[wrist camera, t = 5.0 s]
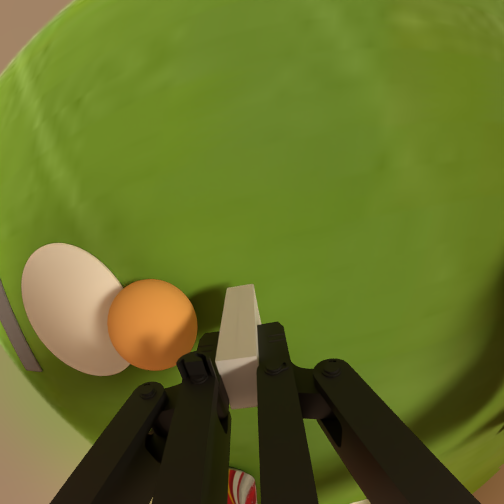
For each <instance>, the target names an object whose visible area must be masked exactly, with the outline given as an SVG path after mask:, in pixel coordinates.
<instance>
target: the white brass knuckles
mask: <svg viewBox="0 0 504 504" xmlns="http://www.w3.org/2000/svg"><path fill="white" fill-rule="evenodd" d="M350 504H371V503H370V502H369V500H368V499H365V500H362V501H359V502H354V503H350Z"/></svg>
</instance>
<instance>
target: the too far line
mask: <svg viewBox="0 0 504 504" xmlns="http://www.w3.org/2000/svg"><path fill="white" fill-rule="evenodd" d="M0 320H1V322H2V325H3V327H4V329H5V331H6V333H7V335H8V337H9V339H10V341H11V343H12V345H13V347H14V349H15V351H16V353H17V355H18V356H19V358H20V360H21V362H22V364H23V365H24V367H25V369H26V370H29V371H38V372H42V371H43V370H42V369H41V367H40V365H39V364H38V362H37V360H36V358H35V356H34V355H33V353H32V351H31V349H30V347H29V345H28V343H27V341H26V339H25V337H24V335H23V333H22V331H21V329H20V327H19V325H18V322H17V320H16V318H15V316H14V313H13V311H12V309H11V306H10V304H9V301H8V299H7V296H6V294H5V291H4V288H3V285H2V283H1V280H0Z"/></svg>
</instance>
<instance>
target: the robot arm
mask: <svg viewBox="0 0 504 504" xmlns="http://www.w3.org/2000/svg"><path fill="white" fill-rule="evenodd" d="M176 365H177V367H178V369H179V372H180V374H181V376H182V379H183V380H182V383H181V384H178V385H176V386H172V387H169V388H165V389H164V387H163V386H162V385H161V384H160V383H158V382H147V383H144V384H142V385H140V386H138V387H137V388H136V389H135V390H134V392H133V393H132V394H131V396H130V397H129V398H128V400H127V401H126V402H125V404H124V405H123V406H122V408H121V409H120V410H119V411H118V413H117V414H116V415H115V417H114V418H113V419H112V421H111V422H110V423H109V425H108V426H107V427H106V429H105V430H104V431H103V433H102V434H101V435H100V437H99V438H98V439H97V441H96V442H95V443H94V445H93V446H92V447H91V449H90V450H89V451H88V453H87V454H86V455H85V457H84V458H83V459H82V461H81V462H80V463H79V465H78V466H77V467H76V469H75V470H74V471H73V473H72V474H71V475H70V477H69V478H68V479H67V481H66V482H65V484H64V485H63V486H62V488H61V489H60V490H59V492H58V493H57V495H56V496H55V497H54V499H53V500H52V501H51V503H50V504H149V503H150V501H151V499H152V497H153V500H152V504H227V501H228V477H229V455H230V434H231V415H230V412H229V403H230V406H231V409H238V408H248V407H256V406H258V431H259V458H260V486H261V504H318V498H317V493H316V487H315V481H314V476H313V470H312V465H311V460H310V454H309V449H308V444H307V438H306V433H305V428H304V423H303V418H307V419H317V422H318V423H319V425H320V427H321V428H322V430H323V431H324V433H325V435H326V436H327V438H328V439H329V441H330V442H331V444H332V446H333V447H334V449H335V450H336V452H337V453H338V455H339V456H340V458H341V459H342V461H343V463H344V464H345V466H346V467H347V469H348V470H349V472H350V473H351V475H352V476H353V478H354V479H355V481H356V482H357V484H358V485H359V487H360V488H361V490H362V491H363V493H364V494H365V496H366V497H367V499H368V500H369V502H370V503H371V504H481V503H480V502H479V501H478V500H477V499H476V498H474V496H473V495H472V494H471V493H470V492H469V491H468V490H467V489H466V488H465V487H464V486H463V485H462V484H461V483H460V482H459V481H458V480H457V478H456V477H455V476H454V475H453V474H452V473H451V472H450V471H449V470H448V469H447V468H446V467H445V466H444V465H443V464H442V463H441V462H440V461H439V460H438V459H437V458H436V456H435V455H434V454H433V453H432V452H431V451H430V450H429V449H428V448H427V447H426V446H425V445H424V444H423V443H422V442H421V441H420V440H419V439H418V437H417V436H416V435H415V434H414V433H413V432H412V431H411V430H410V429H409V428H408V427H407V426H406V425H405V424H404V423H403V422H402V421H401V420H400V418H399V417H398V416H397V415H396V414H395V413H394V412H393V411H392V410H391V409H390V408H389V407H388V406H387V405H386V404H385V403H384V401H383V400H382V399H381V398H380V397H379V396H378V395H377V394H376V393H375V392H374V391H373V390H372V389H371V388H370V387H369V385H368V384H367V383H366V382H365V381H364V380H363V379H362V378H361V377H360V376H359V375H358V374H357V373H356V372H355V371H354V369H353V368H352V367H351V366H350V365H349V364H348V363H347V362H345V361H344V360H340V359H327V360H323V361H321V362H319V363H318V364H317V365H316V366H315V367H314V369H305V368H300V367H297V366H296V365H294V364H293V363H292V362H291V360H290V356H289V351H288V346H287V342H286V337H285V332H284V327H283V326H282V325H281V324H280V323H279V322H272V323H267V324H261V321H260V316H259V311H258V306H257V300H256V295H255V290H254V285H253V284H248V285H242V286H236V287H230V288H227V291H226V297H225V303H224V309H223V315H222V321H221V327H220V331H218V332H211V333H205V334H204V335H203V336H202V337H201V339H200V340H199V344H198V348H197V351H194V352H189V353H187V354H185V355H183V356H181V357H180V358H179V359H178V360H177V362H176ZM151 428H152V429H151ZM150 430H151V431H150ZM149 431H150V432H149Z"/></svg>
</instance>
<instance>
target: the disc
mask: <svg viewBox="0 0 504 504" xmlns="http://www.w3.org/2000/svg"><path fill="white" fill-rule="evenodd" d="M122 289H123V287H122V285H121V284H120V282H119V281H118V279H117V278H116V277H115V276H114V274H113V273H112V272H111V271H110V270H109V269H108V268H107V267H106V266H105V265H104V264H103V263H102V262H101V261H100V260H98V259H97V258H96V257H95V256H93V255H92V254H90V253H89V252H87V251H85V250H83V249H81V248H79V247H77V246H74V245H71V244H66V243H52V244H47V245H45V246H43V247H40V248H39V249H38V250H36V251H35V252H34V253H33V254H32V255H31V256H30V258H29V259H28V261H27V263H26V265H25V267H24V271H23V275H22V298H23V303H24V307H25V310H26V313H27V316H28V319H29V321H30V323H31V325H32V327H33V329H34V330H35V332H36V334H37V335H38V337H39V338H40V339H41V341H42V342H43V343H44V345H45V346H46V347H47V348H48V349H49V350H50V351H51V352H52V353H53V354H54V355H55V356H56V357H58V358H59V359H60V360H61V361H63V362H64V363H66V364H67V365H69V366H71V367H72V368H74V369H76V370H78V371H81V372H84V373H87V374H91V375H96V376H109V375H114V374H117V373H119V372H121V371H123V370H124V369H126V368H127V367H128V366H129V365H130V363H128V362H127V361H126V360H125V359H123V358H122V357H121V356H120V354H119V353H118V352H117V351H116V349H115V348H114V346H113V344H112V342H111V340H110V337H109V333H108V326H107V319H108V313H109V309H110V306H111V304H112V302H113V300H114V298H115V297H116V296H117V294H118V293H119V292H120V291H121V290H122Z"/></svg>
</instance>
